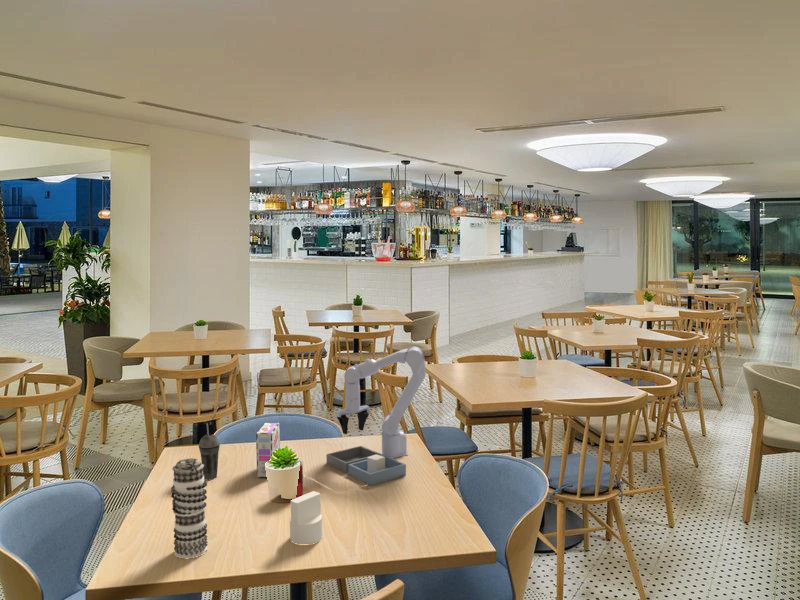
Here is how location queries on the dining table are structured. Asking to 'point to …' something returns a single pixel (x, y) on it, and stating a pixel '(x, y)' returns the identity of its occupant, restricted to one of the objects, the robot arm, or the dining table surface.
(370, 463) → the cream block
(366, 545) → the dining table surface
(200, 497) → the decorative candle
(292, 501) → the cylinder with rectangular tab
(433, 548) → the dining table surface
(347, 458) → the grey bin
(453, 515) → the dining table surface
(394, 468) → the slate blue bin
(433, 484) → the dining table surface
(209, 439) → the beverage cup
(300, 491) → the canned food
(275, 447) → the candy box
